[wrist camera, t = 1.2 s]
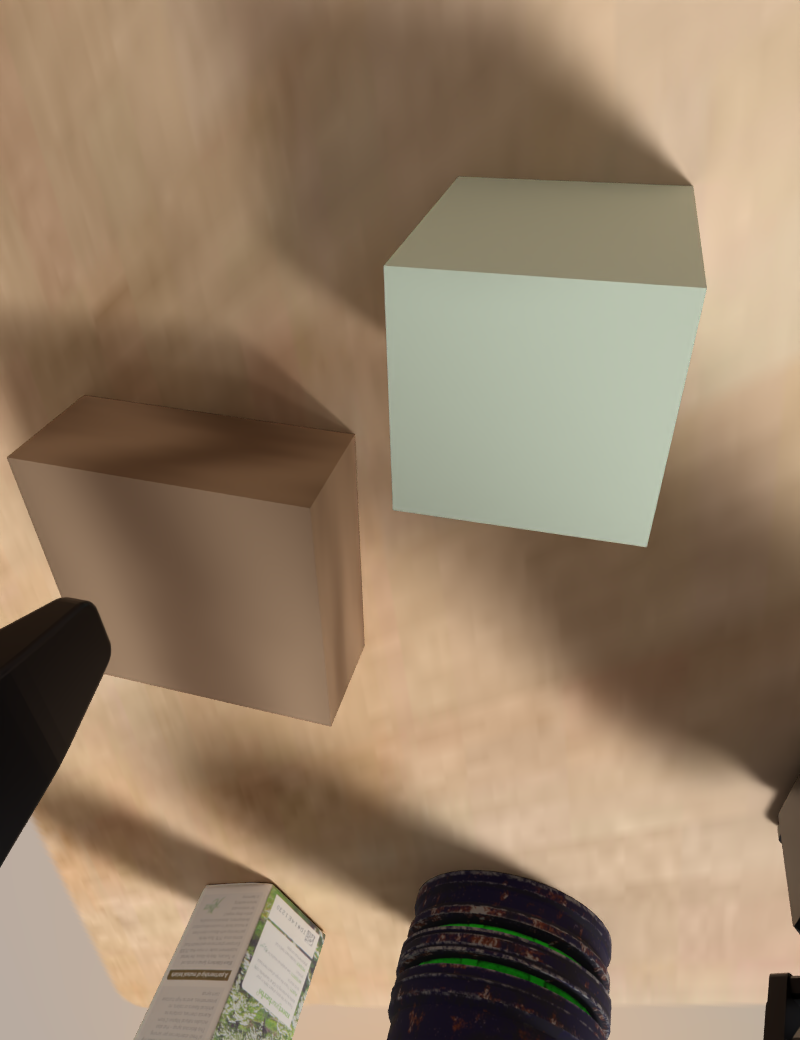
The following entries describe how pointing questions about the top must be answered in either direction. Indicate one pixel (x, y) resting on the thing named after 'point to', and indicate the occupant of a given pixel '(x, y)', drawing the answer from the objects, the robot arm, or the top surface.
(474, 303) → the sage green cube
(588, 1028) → the storage jar
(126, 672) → the block
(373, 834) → the top surface
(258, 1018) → the syrup box
